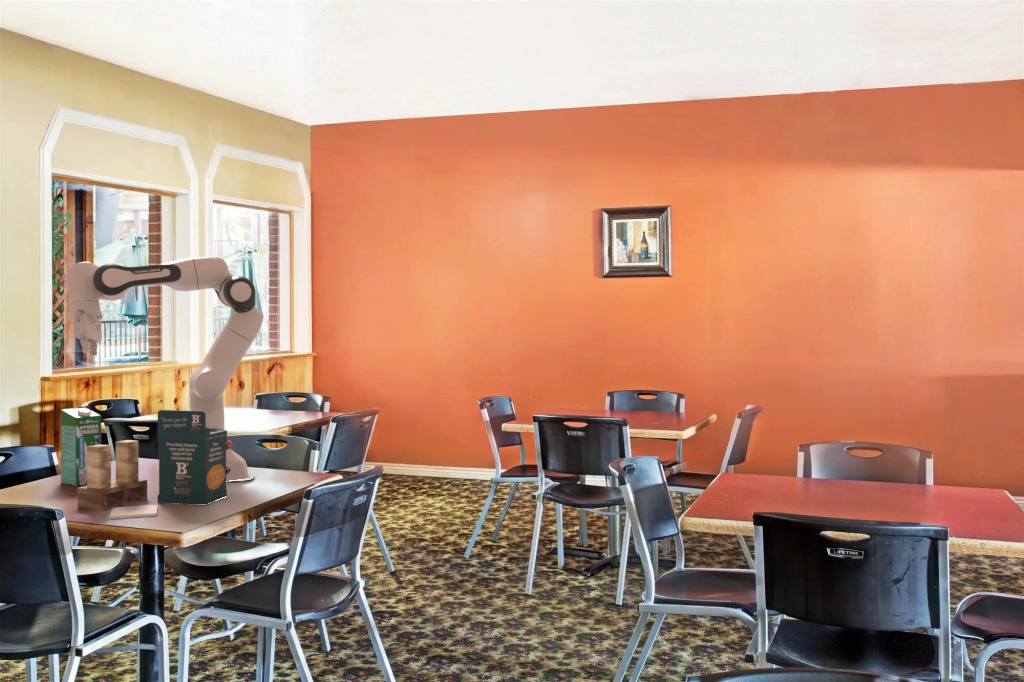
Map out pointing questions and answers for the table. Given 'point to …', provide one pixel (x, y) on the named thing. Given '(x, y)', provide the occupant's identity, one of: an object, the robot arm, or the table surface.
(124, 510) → the ceramic tile
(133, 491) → the walnut shelf
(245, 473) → the robot arm
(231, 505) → the table surface
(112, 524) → the table surface
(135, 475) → the block
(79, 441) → the milk carton
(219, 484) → the donation box
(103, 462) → the block
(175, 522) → the table surface
